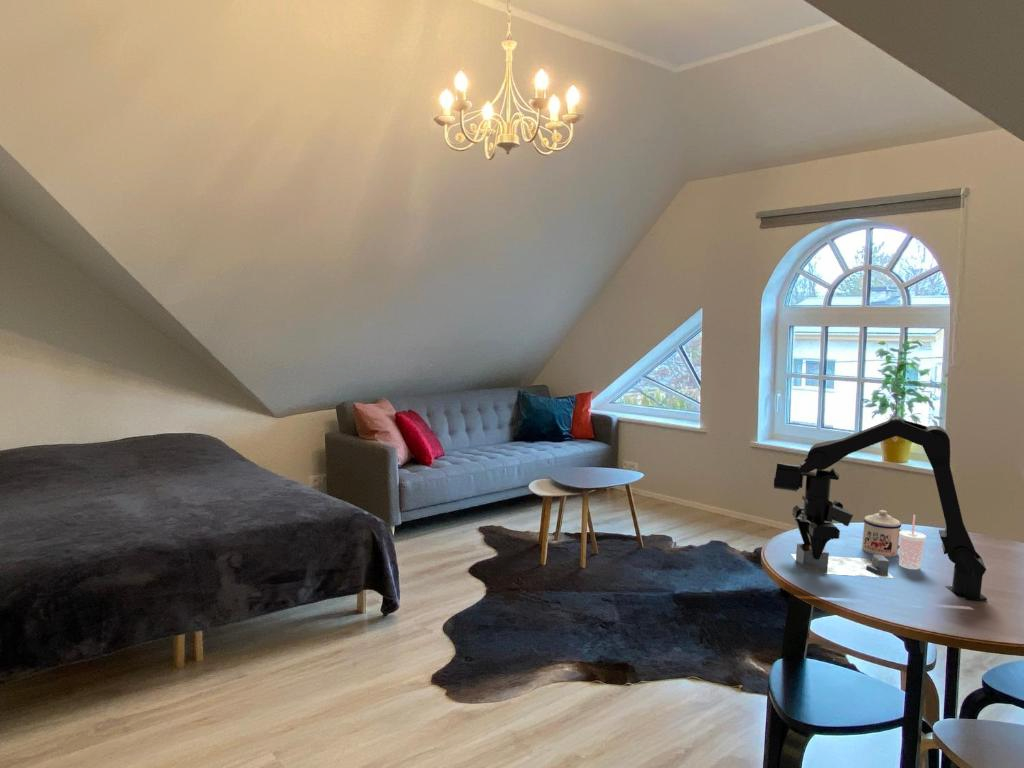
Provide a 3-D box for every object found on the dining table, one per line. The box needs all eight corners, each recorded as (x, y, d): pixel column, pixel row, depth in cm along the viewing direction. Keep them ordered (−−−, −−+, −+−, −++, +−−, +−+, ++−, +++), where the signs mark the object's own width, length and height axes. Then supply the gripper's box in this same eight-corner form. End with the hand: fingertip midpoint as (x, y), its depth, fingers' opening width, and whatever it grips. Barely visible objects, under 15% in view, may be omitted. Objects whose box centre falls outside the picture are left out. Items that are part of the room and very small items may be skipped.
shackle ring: (827, 570, 185) (828, 552, 185) (802, 568, 186) (804, 551, 185) (819, 561, 191) (821, 544, 191) (795, 560, 192) (797, 543, 191)
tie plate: (893, 580, 182) (895, 566, 181) (805, 574, 184) (806, 560, 183) (873, 561, 194) (874, 547, 194) (790, 556, 196) (791, 543, 196)
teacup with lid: (857, 553, 200) (861, 511, 199) (864, 544, 208) (868, 504, 206) (907, 564, 193) (911, 520, 192) (913, 554, 201) (917, 512, 199)
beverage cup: (926, 573, 187) (931, 519, 185) (899, 571, 188) (905, 517, 186) (918, 565, 193) (923, 512, 191) (892, 562, 194) (897, 510, 192)
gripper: (864, 506, 176) (859, 569, 178) (837, 486, 195) (833, 543, 197) (816, 504, 177) (811, 567, 179) (794, 484, 196) (789, 541, 198)
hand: (812, 554), depth 188 cm, fingers open, 7 cm apart
